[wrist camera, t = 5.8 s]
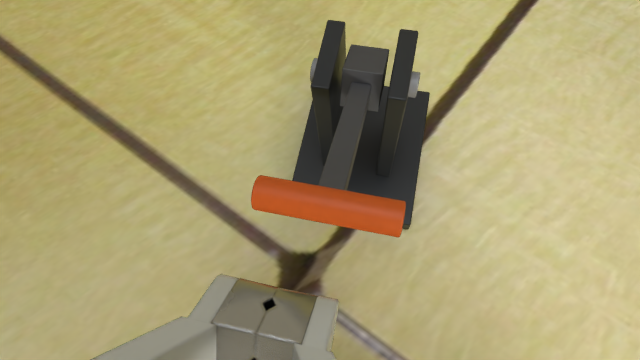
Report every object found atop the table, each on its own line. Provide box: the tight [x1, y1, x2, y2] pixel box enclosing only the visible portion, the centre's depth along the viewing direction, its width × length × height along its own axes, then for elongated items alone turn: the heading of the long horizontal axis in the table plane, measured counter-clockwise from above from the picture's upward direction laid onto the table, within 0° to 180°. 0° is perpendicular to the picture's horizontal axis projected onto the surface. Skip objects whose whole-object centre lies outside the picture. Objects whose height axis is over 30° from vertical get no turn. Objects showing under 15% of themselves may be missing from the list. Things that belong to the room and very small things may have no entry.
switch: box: [251, 45, 406, 237], centre depth 21 cm, size 12×6×2 cm, turn 168°
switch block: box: [292, 20, 430, 229], centre depth 28 cm, size 11×9×12 cm
